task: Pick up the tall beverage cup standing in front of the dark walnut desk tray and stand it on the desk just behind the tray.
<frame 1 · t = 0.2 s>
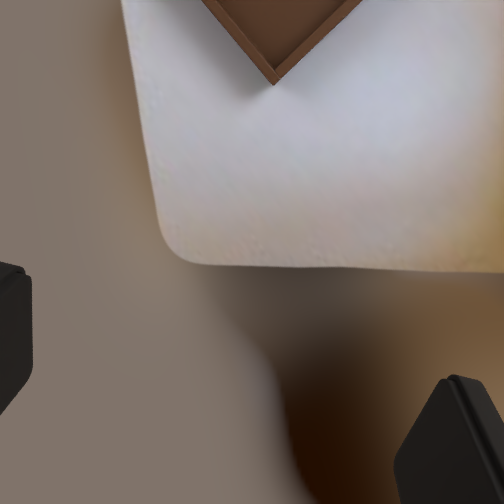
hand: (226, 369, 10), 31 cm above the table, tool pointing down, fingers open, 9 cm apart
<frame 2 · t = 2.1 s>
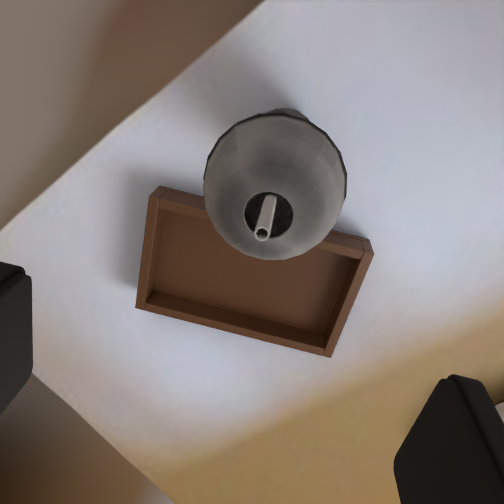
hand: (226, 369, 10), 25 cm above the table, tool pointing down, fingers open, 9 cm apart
tray: (250, 267, 37), on the table
beverage cup: (283, 138, 32), on the table
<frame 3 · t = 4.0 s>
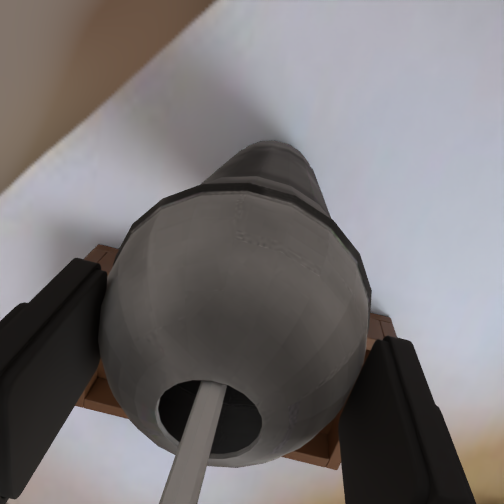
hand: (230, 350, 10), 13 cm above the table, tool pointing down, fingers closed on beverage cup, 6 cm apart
tray: (227, 349, 27), on the table
beverage cup: (270, 183, 22), on the table, touching gripper
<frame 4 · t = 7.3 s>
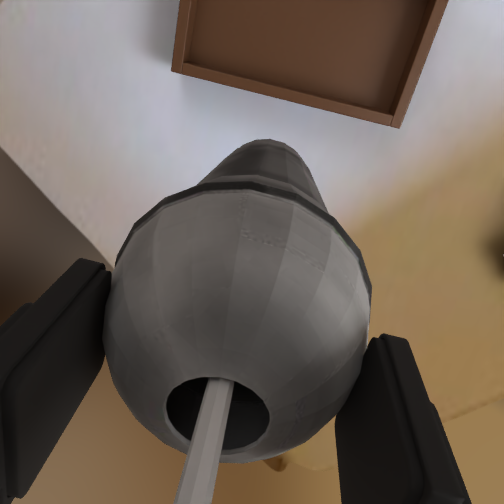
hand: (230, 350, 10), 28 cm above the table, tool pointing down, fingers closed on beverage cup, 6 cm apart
tray: (304, 22, 32), on the table
beverage cup: (265, 181, 22), point 14 cm above the table, touching gripper
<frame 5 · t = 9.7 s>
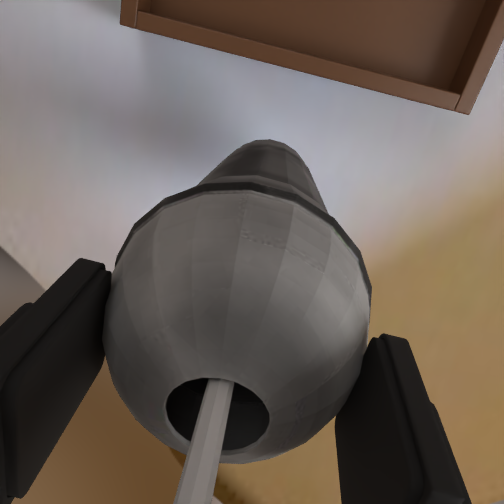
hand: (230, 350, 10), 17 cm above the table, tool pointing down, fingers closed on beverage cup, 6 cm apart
beverage cup: (265, 181, 22), point 4 cm above the table, touching gripper
when the fingers open (13 cm above the table, at t = 11.1 s): beverage cup stays where it is, on the table.
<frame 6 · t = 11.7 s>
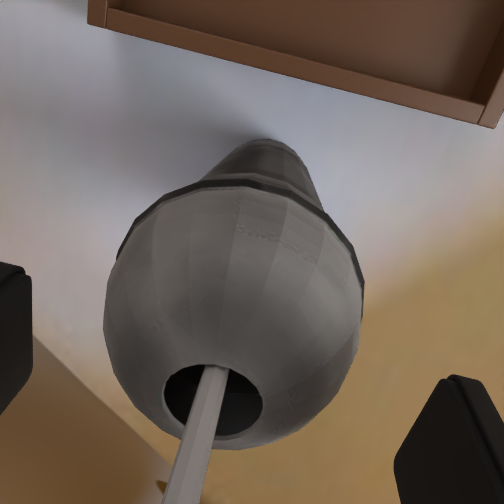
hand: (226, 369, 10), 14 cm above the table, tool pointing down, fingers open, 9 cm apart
beverage cup: (264, 180, 23), on the table
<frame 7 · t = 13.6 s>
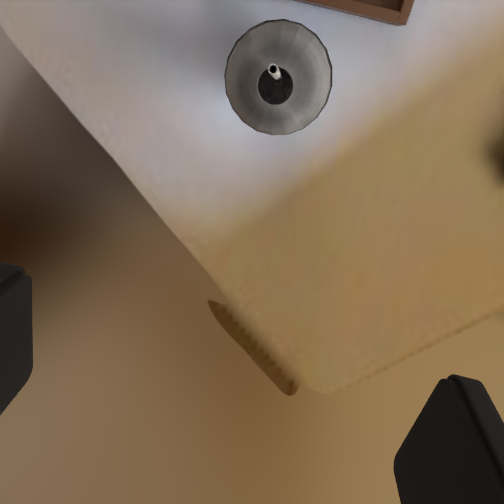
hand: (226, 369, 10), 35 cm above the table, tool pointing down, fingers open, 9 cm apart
beverage cup: (283, 69, 39), on the table
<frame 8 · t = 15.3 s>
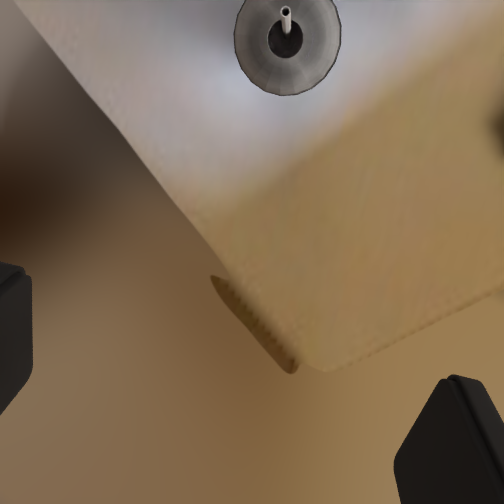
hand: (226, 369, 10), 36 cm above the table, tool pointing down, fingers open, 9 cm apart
beverage cup: (290, 39, 39), on the table
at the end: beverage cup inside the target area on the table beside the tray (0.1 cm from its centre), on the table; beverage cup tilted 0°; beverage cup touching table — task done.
